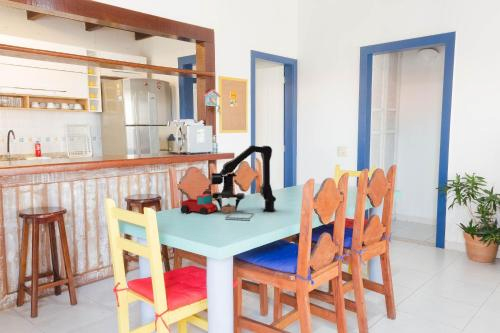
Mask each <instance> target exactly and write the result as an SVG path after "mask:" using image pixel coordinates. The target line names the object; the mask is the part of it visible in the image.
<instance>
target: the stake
mask: <svg viewBox="0 0 500 333" xmlns="http://www.w3.org/2000/svg"><path fill="white" fill-rule="evenodd" d="M226 205H227V207H230V205H231V204H230V203H227V204H226ZM237 210H238V209H237ZM237 210H235V211H234V212H238V211H237ZM220 213H224V214H226V213H225V212H222V210H221V209H220ZM230 213H231V212H228V213H227V214H230Z"/></svg>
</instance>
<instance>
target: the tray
mask: <svg viewBox="0 0 500 333" xmlns="http://www.w3.org/2000/svg"><path fill="white" fill-rule="evenodd" d="M232 214H233V215H234V214H235V215H250V216H249V217H237V216H234V217H233V216H231V215H232ZM254 215H255V213H254V212H253V213H252V212H238V211H237V212H231V213H228V214H227V215H226V216H225V221H237V222H239V221H240V222H250V221H251V219H252V218H253V217H254Z"/></svg>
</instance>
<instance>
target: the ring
mask: <svg viewBox="0 0 500 333" xmlns="http://www.w3.org/2000/svg"><path fill="white" fill-rule="evenodd" d="M235 205H236V204H230V207H227V204H224V205H222V212H221V213H223V212H225V213H224V214H229V213H228V212H234V211H235Z"/></svg>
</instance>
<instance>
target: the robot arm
mask: <svg viewBox="0 0 500 333" xmlns="http://www.w3.org/2000/svg"><path fill="white" fill-rule="evenodd" d="M253 153H259V154H260V157H261V160H262V185H261V186H259V194H260V196H261V197H262V198H263V200H264V209H263V212H270V213H271V212H272V213H273V212H275V211H276V208H275V202H276V200H277V198H276V196H274V195H273V190H272V186H271V168H270V167H271V163H270V162H271V159H272V155H273V149H272V146H269V145H262V146H257V145H254V144H252V145H249V146H248V147H247V148H246V149H245V150H243V151H242V152H241V153H240V154H239V155H237V156H236V157H235V158H232V159H231V160H228V161H227V162H225V163H223V165H222V169H221V170H220V171H219V172H211V176H210V185H212V186H213V185H216V186H217V185H222V183H223V186H222V190H221V192H218V191H216V192H214V193H212V199H214V200H216V202H217V203H218V206H219V209H220V211H221V210H222V206H223V200H222V199H230V198H235V204H234V205H235V210H238V207H239V204H240V201H241V200H243V199H245V198H246V197H245V196H246V194H245V193H243V192H238V193H237V194H236V193H235V194H234V177H237V175H236V173H235V172H234V171H235V169H237V168H238V166H240V163H241V164H242V162H243V161H244V160H246V159H247V158H249V156H251V155H252V154H253Z"/></svg>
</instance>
